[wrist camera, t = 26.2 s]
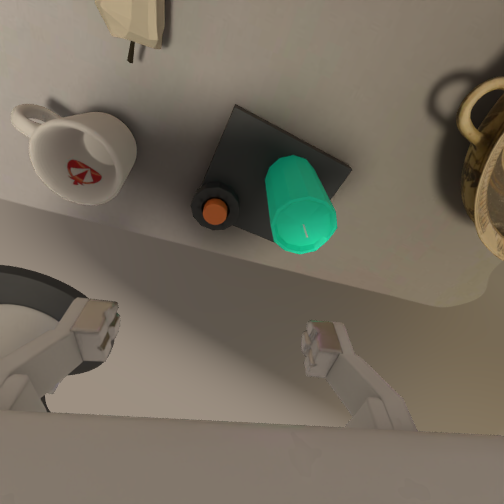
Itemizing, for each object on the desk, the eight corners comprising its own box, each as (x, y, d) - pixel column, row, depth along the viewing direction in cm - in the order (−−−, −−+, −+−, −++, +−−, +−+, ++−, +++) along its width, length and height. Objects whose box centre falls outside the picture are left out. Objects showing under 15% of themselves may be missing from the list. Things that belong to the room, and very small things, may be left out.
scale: (289, 248, 42) (292, 261, 39) (189, 207, 37) (185, 219, 35) (349, 165, 34) (356, 174, 32) (232, 102, 30) (231, 107, 28)
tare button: (221, 221, 36) (221, 228, 34) (200, 213, 35) (199, 219, 34) (231, 203, 34) (230, 209, 33) (209, 194, 33) (207, 200, 32)
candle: (277, 210, 36) (288, 272, 27) (256, 170, 33) (259, 224, 23) (322, 190, 35) (351, 248, 25) (304, 145, 31) (329, 192, 22)
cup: (35, 132, 32) (-18, 156, 25) (57, 64, 28) (0, 72, 21) (128, 187, 36) (102, 220, 29) (158, 135, 32) (135, 159, 26)
